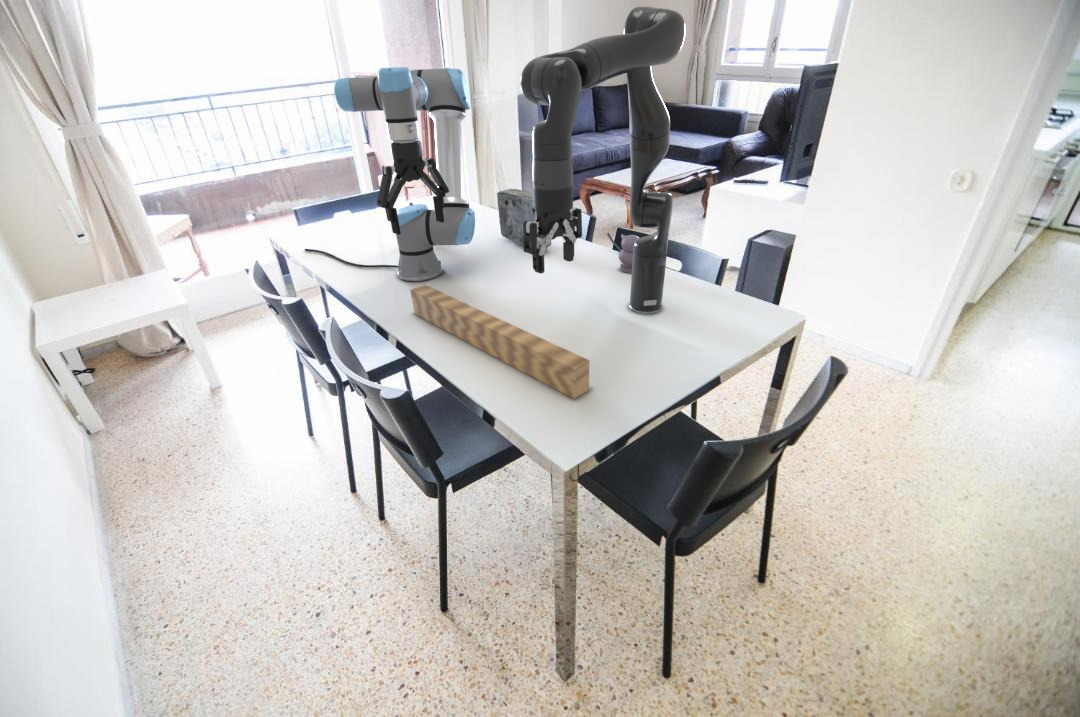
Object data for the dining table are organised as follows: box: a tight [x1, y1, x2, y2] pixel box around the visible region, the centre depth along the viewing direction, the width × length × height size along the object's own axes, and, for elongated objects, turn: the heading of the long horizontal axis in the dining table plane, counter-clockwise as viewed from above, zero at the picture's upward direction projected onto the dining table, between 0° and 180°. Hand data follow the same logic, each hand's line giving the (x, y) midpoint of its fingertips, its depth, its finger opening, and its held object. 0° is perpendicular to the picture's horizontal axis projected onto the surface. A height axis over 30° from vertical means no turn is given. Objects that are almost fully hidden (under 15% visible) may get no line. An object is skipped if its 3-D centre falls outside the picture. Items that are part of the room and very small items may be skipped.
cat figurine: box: [618, 233, 640, 274], centre depth 170 cm, size 8×8×12 cm
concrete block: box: [496, 188, 552, 249], centre depth 192 cm, size 27×9×20 cm, turn 36°
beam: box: [409, 284, 590, 400], centre depth 128 cm, size 64×5×8 cm, turn 45°
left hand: (419, 227), depth 132 cm, fingers open, 13 cm apart
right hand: (554, 266), depth 100 cm, fingers open, 8 cm apart
